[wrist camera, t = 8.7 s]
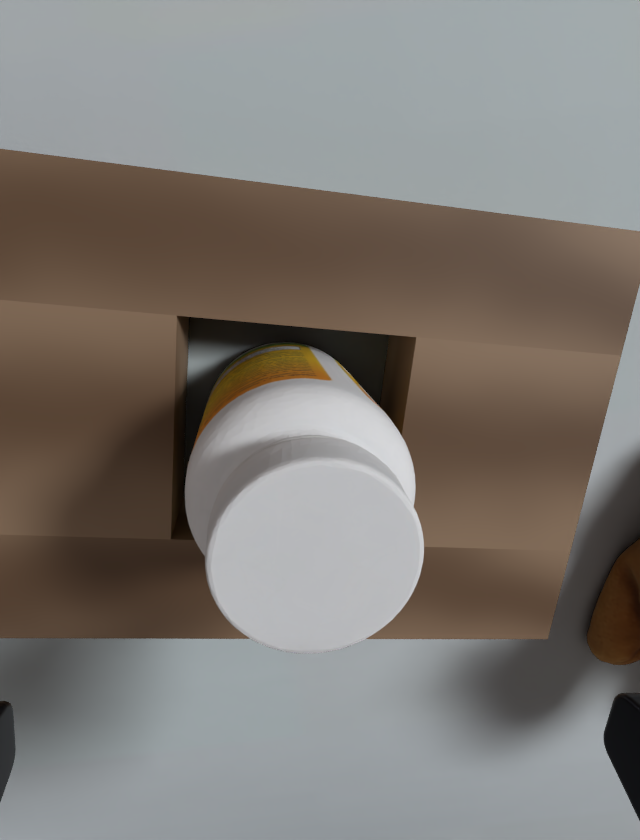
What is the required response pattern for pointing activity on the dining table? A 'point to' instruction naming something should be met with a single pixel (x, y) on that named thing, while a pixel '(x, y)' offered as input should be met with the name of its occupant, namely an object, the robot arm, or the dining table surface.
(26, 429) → the socket board
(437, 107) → the dining table surface
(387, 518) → the supplement bottle
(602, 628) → the stuffed squirrel
